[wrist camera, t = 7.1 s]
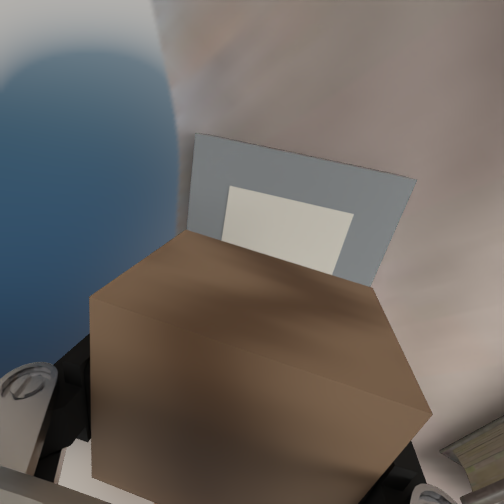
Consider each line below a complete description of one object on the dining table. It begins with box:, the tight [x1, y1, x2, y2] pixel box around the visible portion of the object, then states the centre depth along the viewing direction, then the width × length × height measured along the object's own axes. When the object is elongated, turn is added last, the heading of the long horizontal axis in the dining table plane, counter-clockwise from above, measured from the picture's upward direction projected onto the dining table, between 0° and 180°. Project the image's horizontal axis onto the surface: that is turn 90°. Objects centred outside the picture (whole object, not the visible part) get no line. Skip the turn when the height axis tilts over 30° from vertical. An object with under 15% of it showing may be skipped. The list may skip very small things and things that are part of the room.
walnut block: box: [89, 230, 433, 504], centre depth 9 cm, size 7×7×5 cm
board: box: [187, 133, 417, 287], centre depth 20 cm, size 14×14×3 cm
